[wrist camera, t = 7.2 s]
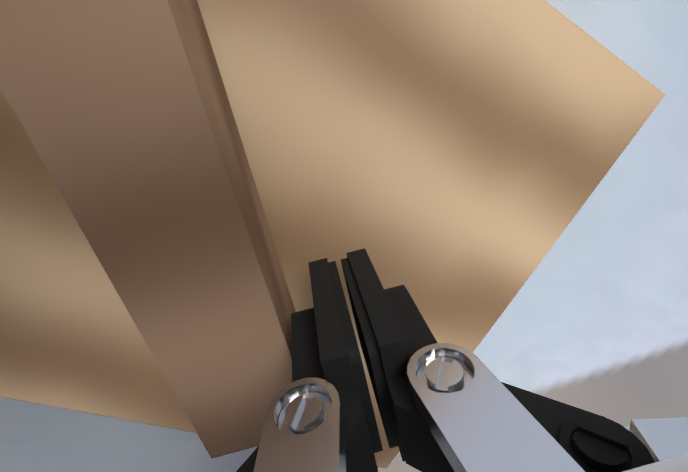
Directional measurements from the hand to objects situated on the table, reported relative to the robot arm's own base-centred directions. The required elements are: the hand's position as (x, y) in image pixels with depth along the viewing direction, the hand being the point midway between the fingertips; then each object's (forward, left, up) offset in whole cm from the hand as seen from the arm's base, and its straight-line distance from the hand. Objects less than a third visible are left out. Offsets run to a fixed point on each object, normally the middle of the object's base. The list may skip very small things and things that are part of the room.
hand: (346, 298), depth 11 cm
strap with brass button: (-1, -5, -1) cm, 6 cm away
